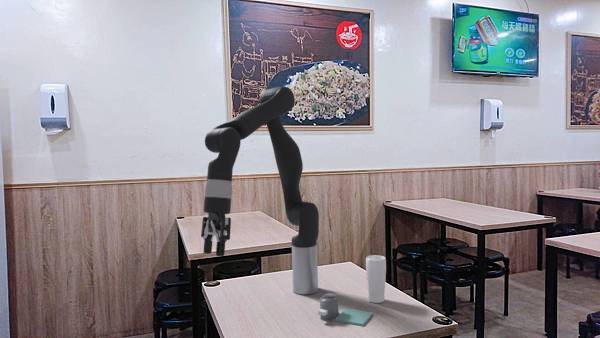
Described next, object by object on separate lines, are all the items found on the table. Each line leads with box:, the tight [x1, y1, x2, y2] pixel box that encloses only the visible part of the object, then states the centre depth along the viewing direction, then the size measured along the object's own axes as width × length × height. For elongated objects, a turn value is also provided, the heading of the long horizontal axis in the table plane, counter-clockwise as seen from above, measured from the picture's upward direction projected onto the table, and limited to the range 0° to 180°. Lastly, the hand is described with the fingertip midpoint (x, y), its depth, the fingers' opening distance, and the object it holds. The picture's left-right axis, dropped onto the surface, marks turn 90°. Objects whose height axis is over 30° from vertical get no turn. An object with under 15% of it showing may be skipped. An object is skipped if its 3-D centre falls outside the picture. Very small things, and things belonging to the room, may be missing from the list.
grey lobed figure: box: [317, 292, 340, 322], centre depth 129 cm, size 9×4×6 cm, turn 152°
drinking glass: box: [365, 254, 387, 304], centre depth 141 cm, size 7×7×15 cm
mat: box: [334, 307, 374, 327], centre depth 128 cm, size 9×9×1 cm
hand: (213, 254), depth 115 cm, fingers open, 8 cm apart
